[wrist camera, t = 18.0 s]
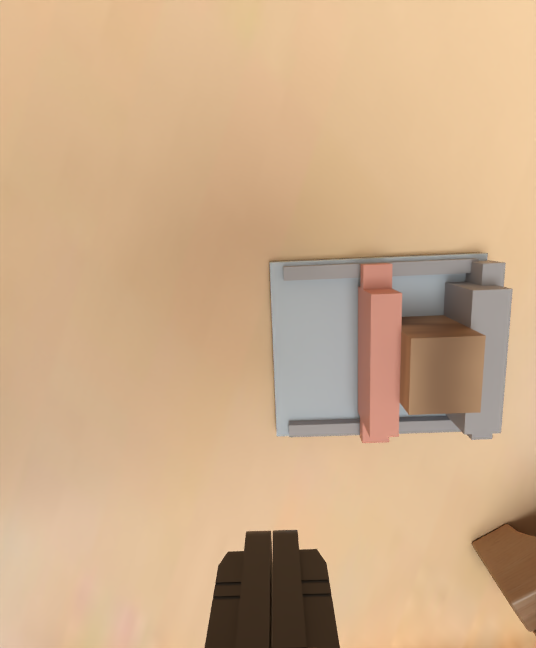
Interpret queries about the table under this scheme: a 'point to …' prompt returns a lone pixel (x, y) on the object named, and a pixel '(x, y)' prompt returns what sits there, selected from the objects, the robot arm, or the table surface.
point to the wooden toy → (512, 569)
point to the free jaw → (378, 353)
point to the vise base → (342, 337)
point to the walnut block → (440, 366)
